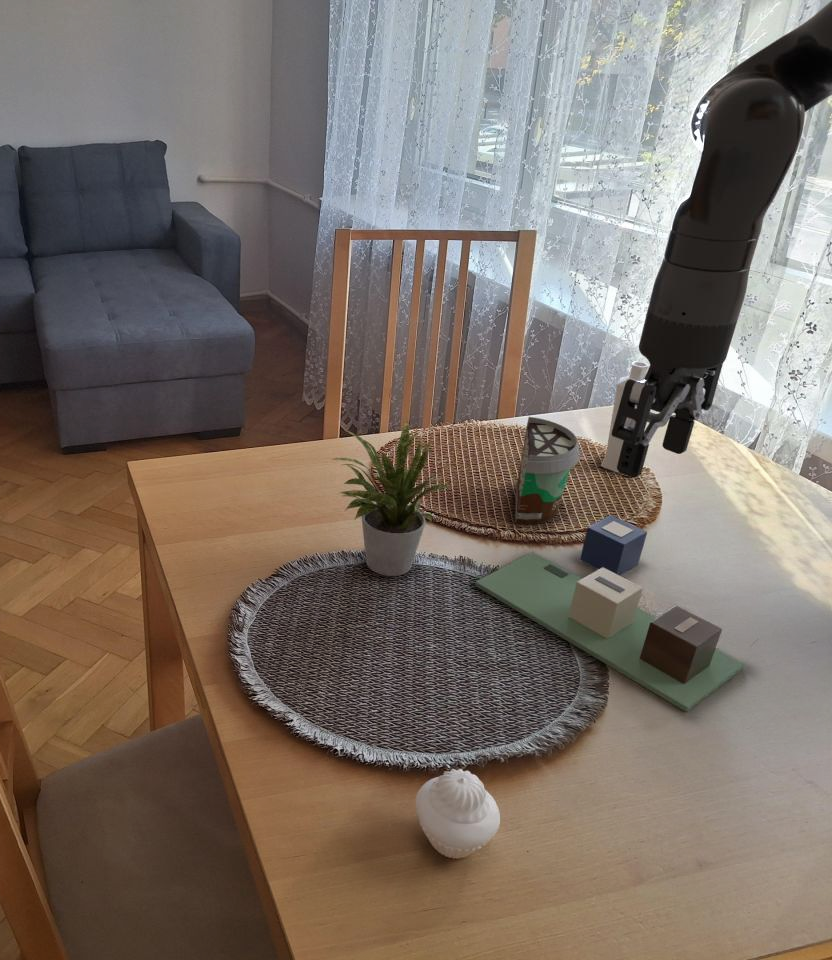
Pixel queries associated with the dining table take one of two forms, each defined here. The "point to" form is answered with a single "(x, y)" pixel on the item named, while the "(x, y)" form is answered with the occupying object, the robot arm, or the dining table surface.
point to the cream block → (605, 602)
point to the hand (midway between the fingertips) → (651, 462)
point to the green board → (548, 603)
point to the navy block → (613, 545)
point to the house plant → (391, 507)
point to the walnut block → (680, 644)
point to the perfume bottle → (615, 443)
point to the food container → (544, 470)
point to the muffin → (457, 813)
